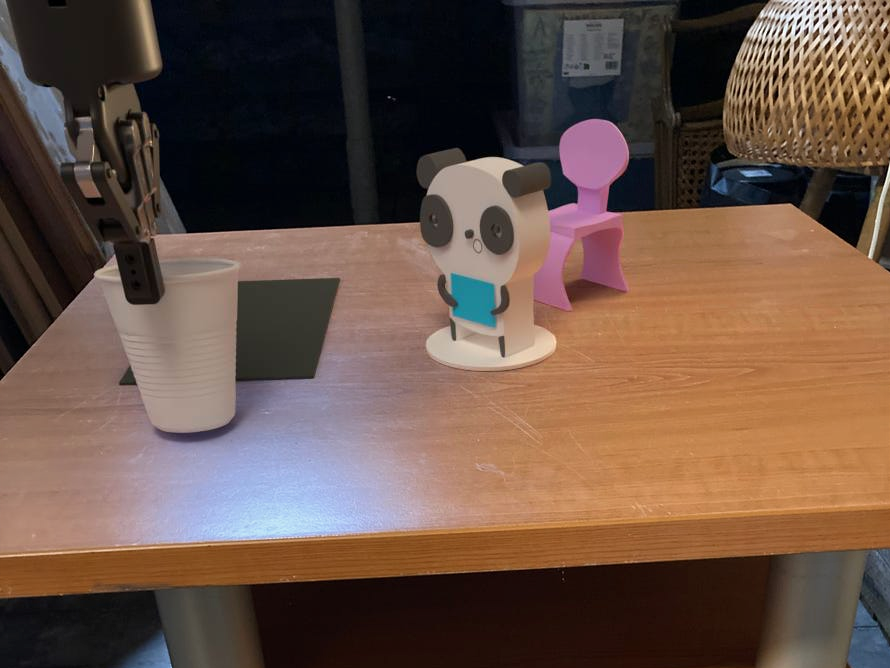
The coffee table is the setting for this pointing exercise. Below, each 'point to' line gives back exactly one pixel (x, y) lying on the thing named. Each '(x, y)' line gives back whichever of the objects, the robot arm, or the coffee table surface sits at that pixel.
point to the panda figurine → (486, 258)
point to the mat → (278, 328)
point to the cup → (182, 342)
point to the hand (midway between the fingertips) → (146, 300)
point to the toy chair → (586, 212)
